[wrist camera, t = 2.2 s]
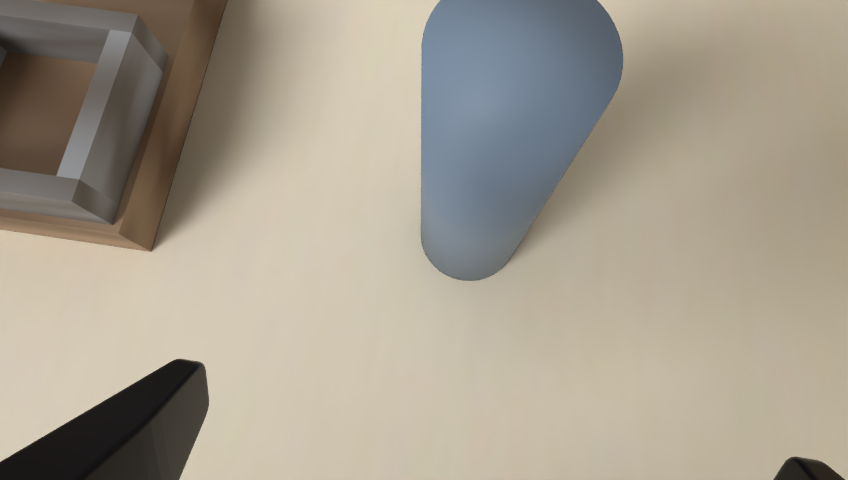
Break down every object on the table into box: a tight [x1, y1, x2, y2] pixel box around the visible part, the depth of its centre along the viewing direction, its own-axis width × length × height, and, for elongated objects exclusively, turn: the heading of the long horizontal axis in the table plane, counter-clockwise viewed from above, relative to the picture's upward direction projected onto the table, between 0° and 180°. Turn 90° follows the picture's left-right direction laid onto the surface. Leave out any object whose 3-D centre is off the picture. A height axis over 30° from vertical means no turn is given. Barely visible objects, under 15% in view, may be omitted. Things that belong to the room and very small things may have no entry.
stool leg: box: [421, 0, 623, 281], centre depth 17 cm, size 4×4×12 cm
